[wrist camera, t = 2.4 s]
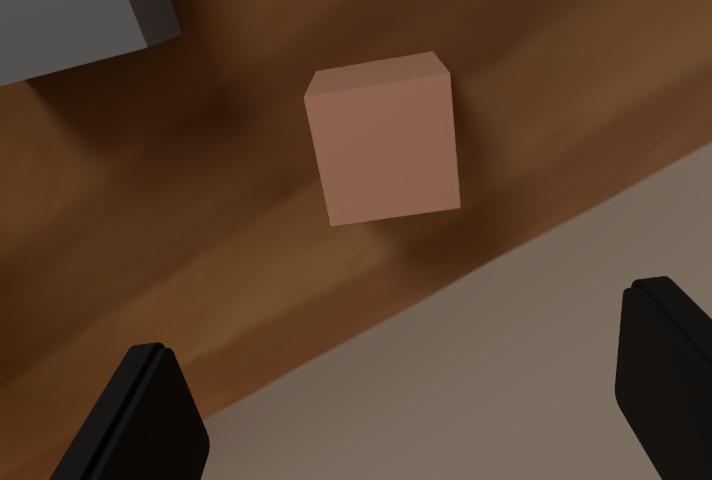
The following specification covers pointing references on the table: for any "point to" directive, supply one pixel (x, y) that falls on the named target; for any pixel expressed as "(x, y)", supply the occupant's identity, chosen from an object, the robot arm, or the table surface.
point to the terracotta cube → (384, 138)
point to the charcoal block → (77, 33)
